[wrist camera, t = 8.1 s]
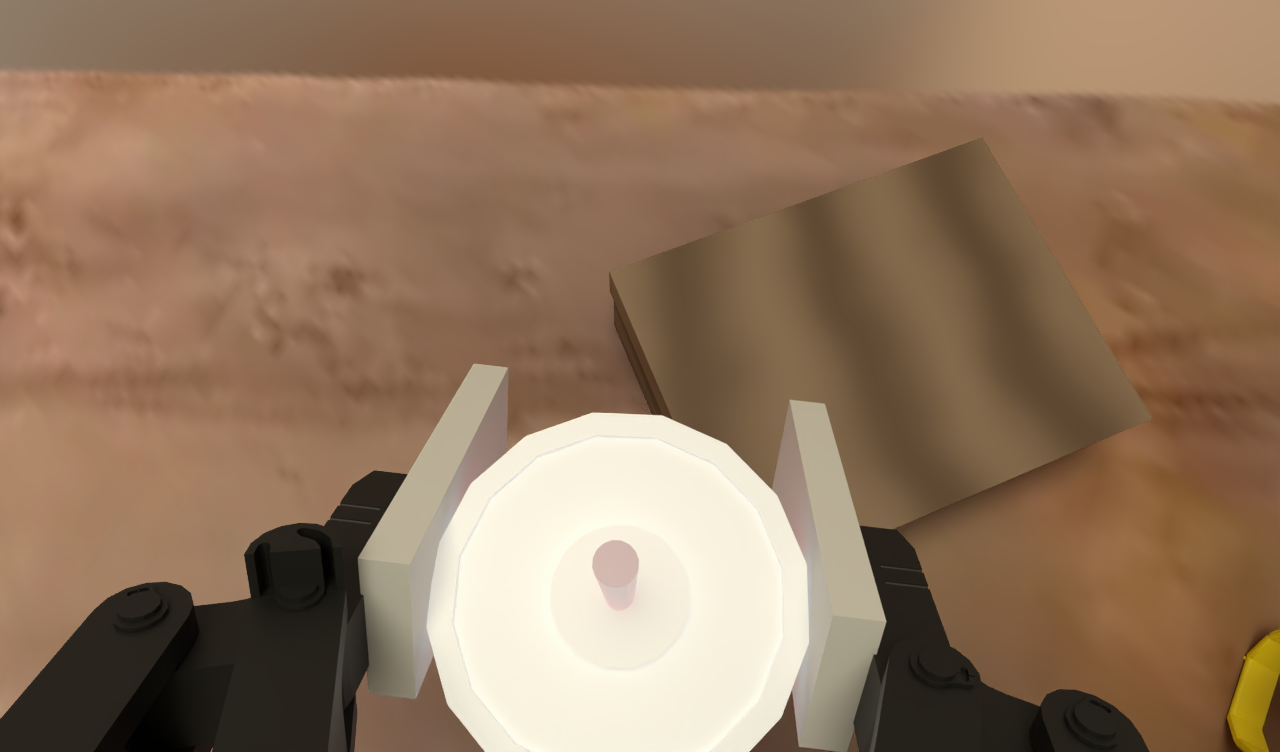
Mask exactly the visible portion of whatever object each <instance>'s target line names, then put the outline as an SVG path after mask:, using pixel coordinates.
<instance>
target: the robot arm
mask: <svg viewBox="0 0 1280 752" xmlns="http://www.w3.org/2000/svg"><path fill="white" fill-rule="evenodd" d="M507 408H508V368H507V367H498V366H489V365H480V364H473V366H472V368H471V369H470V371H469V373H468V374H467V376H466V378H465V379H464V381H463V383H462V384H461V386H460V388H459V389H458V391H457V393H456V394H455V396H454V398H453V399H452V401H451V403H450V404H449V406H448V408H447V409H446V411H445V413H444V414H443V416H442V418H441V420H440V421H439V423H438V425H437V426H436V428H435V430H434V431H433V433H432V435H431V436H430V438H429V440H428V441H427V443H426V445H425V446H424V448H423V450H422V451H421V453H420V455H419V456H418V458H417V460H416V461H415V463H414V465H413V466H412V468H411V470H410V472H409V473H408V474H400V473H391V472H383V471H373V472H371V473H370V474H368V475H367V476H365V477H364V478H362V479H361V480H359V481H358V482H356V483H355V484H353V485H352V486H351V488H350V489H349V491H348V492H347V494H346V495H345V496H344V498H343V499H342V501H341V502H340V506H338V507H337V508H336V509H335V511H334V512H333V514H332V515H331V518H330V520H328V521H327V522H326V524H325V525H324V526H322V525H319V524H309V523H297V524H291V525H286V526H281V527H278V528H276V529H273V530H271V531H268V532H266V533H264V534H262V535H261V536H260V537H259V538H257V539H256V540H255V541H253V542H252V543H251V544H250V546H249V547H248V549H247V551H246V552H245V554H244V557H245V563H246V569H247V575H248V581H249V587H250V594H251V598H249V599H245V600H239V601H234V602H226V603H218V604H209V605H200V606H194V604H193V600H192V596H191V593H190V592H189V591H187V590H186V589H185V588H184V587H182V586H181V585H177V584H172V583H168V582H155V583H145V584H141V585H137V586H134V587H130V588H127V589H124V590H122V591H121V592H119V593H117V594H115V595H113V596H111V597H109V598H107V599H106V600H105V601H104V602H103V603H101V604H100V605H99V606H98V607H97V608H96V609H94V610H93V612H92V613H91V614H90V615H89V616H88V617H87V619H86V620H85V621H84V622H83V623H82V624H81V626H80V627H79V628H78V629H77V630H76V631H75V633H74V634H73V635H72V636H71V637H70V638H69V640H68V641H67V642H66V643H65V644H64V645H63V647H62V648H61V649H60V650H59V651H58V652H57V654H56V655H55V656H54V657H53V658H52V659H51V661H50V662H49V663H48V664H47V665H46V666H45V668H44V669H43V670H42V671H41V672H40V673H39V675H38V676H37V677H36V678H35V679H34V680H33V682H32V683H31V684H30V685H29V686H28V687H27V689H26V690H25V691H24V692H23V693H22V694H21V696H20V697H19V698H18V699H17V700H16V701H15V703H14V704H13V705H12V706H11V707H10V708H9V710H8V711H7V712H6V713H5V714H4V715H3V717H2V718H1V719H0V752H210V751H211V749H212V748H213V750H212V752H354V747H355V735H356V722H357V704H356V694H355V693H356V691H357V689H358V687H359V685H360V683H361V681H362V679H363V676H364V674H365V672H366V670H367V677H368V689H369V694H377V695H385V696H393V697H401V698H409V699H416V698H417V695H418V693H419V690H420V688H421V685H422V683H423V680H424V678H425V675H426V673H427V670H428V668H429V665H430V663H431V660H432V658H433V655H434V654H433V650H432V646H431V643H430V639H429V636H428V632H427V628H426V626H427V617H428V608H429V600H430V591H431V583H432V577H433V572H434V567H435V561H436V556H437V551H438V546H439V542H440V540H441V538H442V536H443V535H444V533H445V531H446V529H447V527H448V525H449V523H450V521H451V520H452V518H453V516H454V514H455V512H456V510H457V508H458V506H459V505H460V503H461V501H462V499H463V497H464V495H465V493H466V491H467V490H468V488H469V486H470V484H471V483H472V482H473V481H474V480H475V479H477V478H478V477H479V476H480V475H481V474H482V473H484V472H485V471H486V470H487V469H488V468H489V467H490V466H492V465H493V464H494V463H495V462H496V461H497V460H499V459H500V458H501V457H502V456H503V455H504V454H506V453H507ZM772 491H773V492H774V493H775V494H776V495H777V496H778V498H779V500H780V503H781V505H782V507H783V510H784V512H785V514H786V517H787V519H788V521H789V524H790V526H791V528H792V531H793V533H794V536H795V538H796V540H797V543H798V545H799V547H800V550H801V552H802V554H803V557H804V559H805V561H806V564H807V584H808V619H809V644H808V647H807V650H806V652H805V655H804V658H803V660H802V663H801V666H800V669H799V671H798V674H797V677H796V679H795V682H794V685H793V688H792V694H793V702H794V710H795V719H796V727H797V735H798V743H799V747H806V748H814V749H822V750H830V751H838V752H847V751H848V748H849V745H850V741H851V738H852V735H853V731H854V728H855V733H856V738H857V743H858V748H859V752H1149V750H1148V748H1147V746H1146V744H1145V742H1144V740H1143V738H1142V736H1141V735H1140V733H1139V732H1138V730H1137V729H1136V728H1135V726H1134V725H1133V723H1132V722H1131V721H1130V720H1129V719H1128V718H1127V717H1126V716H1125V715H1124V714H1122V713H1121V712H1120V711H1119V710H1118V709H1116V708H1115V707H1114V706H1113V705H1111V704H1109V703H1107V702H1105V701H1103V700H1102V699H1100V698H1098V697H1096V696H1094V695H1091V694H1088V693H1084V692H1081V691H1078V690H1056V691H1054V692H1052V693H1049V694H1047V695H1046V697H1045V698H1044V700H1043V702H1042V704H1041V706H1037V705H1034V704H1031V703H1029V702H1026V701H1023V700H1020V699H1018V698H1015V697H1012V696H1010V695H1007V694H1004V693H1002V692H1000V691H997V690H995V689H993V688H991V687H989V686H987V685H986V684H984V683H982V682H981V679H980V675H979V673H978V671H977V670H976V669H975V667H974V666H973V664H972V663H971V662H970V660H969V659H967V658H966V657H965V656H963V655H962V654H961V653H960V652H958V651H957V650H956V649H954V648H952V647H950V644H949V641H948V639H947V636H946V633H945V630H944V628H943V625H942V622H941V620H940V617H939V614H938V611H937V609H936V606H935V603H934V601H933V598H932V595H931V592H930V590H929V589H928V584H927V581H926V579H925V576H924V573H922V568H921V565H920V562H919V560H918V557H917V554H916V552H915V549H914V548H913V547H912V546H911V545H910V543H909V542H908V541H907V540H906V539H905V538H904V537H903V536H902V535H901V534H900V533H899V532H898V531H897V530H894V529H885V528H877V527H868V526H860V525H859V523H858V519H857V516H856V512H855V509H854V505H853V502H852V498H851V495H850V491H849V487H848V484H847V480H846V477H845V473H844V470H843V466H842V463H841V459H840V456H839V452H838V448H837V445H836V441H835V438H834V434H833V431H832V427H831V424H830V420H829V417H828V413H827V410H826V406H825V404H823V403H815V402H806V401H797V400H789V406H788V411H787V416H786V421H785V426H784V431H783V436H782V441H781V446H780V451H779V456H778V461H777V466H776V471H775V476H774V482H773V487H772Z"/></svg>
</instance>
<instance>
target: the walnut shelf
mask: <svg viewBox="0 0 1280 752" xmlns="http://www.w3.org/2000/svg"><path fill="white" fill-rule="evenodd" d="M609 278H610V292H611V295H612V297H613V299H614V325H615V327H616V330H617V332H618V335H619V337H620V339H621V342H622V344H623V346H624V349H625V351H626V353H627V356H628V358H629V361H630V363H631V365H632V368H633V370H634V372H635V375H636V377H637V380H638V382H639V384H640V387H641V389H642V391H643V394H644V396H645V398H646V401H647V403H648V406H649V408H650V410H651V413H652V415H662V416H665V417H667V418H669V419H671V420H674V421H676V422H678V423H680V424H683V425H685V426H687V427H689V428H692V429H694V430H696V431H698V432H701V433H703V434H705V435H707V436H710V437H712V438H714V439H716V440H719V441H721V442H723V443H725V444H727V445H728V446H729V447H730V448H731V449H732V450H733V451H734V452H735V453H736V454H737V455H738V456H739V457H740V458H741V459H742V460H743V461H744V462H745V463H746V464H747V465H748V466H749V467H750V468H751V469H752V470H753V471H754V472H755V473H756V474H757V475H758V476H759V477H760V478H761V479H762V480H763V481H764V482H765V483H766V484H767V485H768V487H769V488H770V489H771V490H772V487H773V482H774V476H775V471H776V466H777V461H778V456H779V451H780V446H781V441H782V436H783V431H784V426H785V421H786V416H787V411H788V406H789V400H797V401H806V402H815V403H823V404H825V406H826V410H827V413H828V417H829V420H830V424H831V427H832V431H833V434H834V438H835V441H836V445H837V448H838V452H839V456H840V459H841V463H842V466H843V470H844V473H845V477H846V480H847V484H848V487H849V491H850V495H851V498H852V502H853V505H854V509H855V512H856V516H857V519H858V523H859V525H860V526H868V527H877V528H885V529H895V528H897V527H899V526H902V525H904V524H906V523H909V522H911V521H913V520H916V519H918V518H920V517H923V516H925V515H927V514H930V513H932V512H934V511H937V510H939V509H941V508H944V507H946V506H948V505H951V504H953V503H955V502H958V501H960V500H962V499H965V498H967V497H970V496H972V495H974V494H977V493H979V492H981V491H984V490H986V489H988V488H991V487H993V486H995V485H998V484H1000V483H1002V482H1005V481H1007V480H1009V479H1012V478H1014V477H1016V476H1019V475H1021V474H1023V473H1026V472H1028V471H1030V470H1033V469H1035V468H1037V467H1040V466H1042V465H1044V464H1047V463H1049V462H1051V461H1054V460H1056V459H1058V458H1061V457H1063V456H1065V455H1068V454H1070V453H1072V452H1075V451H1077V450H1079V449H1082V448H1084V447H1087V446H1089V445H1091V444H1094V443H1096V442H1098V441H1101V440H1103V439H1105V438H1108V437H1110V436H1112V435H1115V434H1117V433H1119V432H1122V431H1124V430H1126V429H1129V428H1131V427H1133V426H1136V425H1138V424H1140V423H1143V422H1145V421H1147V420H1150V419H1152V417H1151V416H1150V414H1149V412H1148V411H1147V409H1146V407H1145V406H1144V404H1143V402H1142V401H1141V399H1140V397H1139V396H1138V394H1137V392H1136V391H1135V389H1134V387H1133V386H1132V384H1131V382H1130V381H1129V379H1128V378H1127V376H1126V374H1125V373H1124V371H1123V369H1122V368H1121V366H1120V364H1119V363H1118V361H1117V359H1116V358H1115V356H1114V354H1113V353H1112V351H1111V349H1110V348H1109V346H1108V344H1107V343H1106V341H1105V339H1104V338H1103V336H1102V334H1101V333H1100V331H1099V330H1098V328H1097V326H1096V325H1095V323H1094V321H1093V320H1092V318H1091V316H1090V315H1089V313H1088V311H1087V310H1086V308H1085V306H1084V305H1083V303H1082V301H1081V300H1080V298H1079V296H1078V295H1077V293H1076V291H1075V290H1074V288H1073V286H1072V285H1071V283H1070V282H1069V280H1068V278H1067V277H1066V275H1065V273H1064V272H1063V270H1062V268H1061V267H1060V265H1059V263H1058V262H1057V260H1056V258H1055V257H1054V255H1053V253H1052V252H1051V250H1050V248H1049V247H1048V245H1047V243H1046V242H1045V240H1044V239H1043V237H1042V235H1041V234H1040V232H1039V230H1038V229H1037V227H1036V225H1035V224H1034V222H1033V220H1032V219H1031V217H1030V215H1029V214H1028V212H1027V210H1026V209H1025V207H1024V205H1023V204H1022V202H1021V200H1020V199H1019V197H1018V195H1017V194H1016V192H1015V191H1014V189H1013V187H1012V186H1011V184H1010V182H1009V181H1008V179H1007V177H1006V176H1005V174H1004V172H1003V171H1002V169H1001V167H1000V166H999V164H998V162H997V161H996V159H995V157H994V156H993V154H992V152H991V151H990V149H989V147H988V146H987V144H986V143H985V141H984V139H983V138H980V139H977V140H974V141H971V142H968V143H966V144H963V145H960V146H957V147H955V148H952V149H949V150H946V151H943V152H941V153H938V154H935V155H932V156H930V157H927V158H924V159H921V160H918V161H916V162H913V163H910V164H907V165H905V166H902V167H899V168H896V169H893V170H891V171H888V172H885V173H882V174H880V175H877V176H874V177H871V178H869V179H866V180H863V181H860V182H857V183H855V184H852V185H849V186H846V187H844V188H841V189H838V190H835V191H832V192H830V193H827V194H824V195H821V196H819V197H816V198H813V199H810V200H807V201H805V202H802V203H799V204H796V205H794V206H791V207H788V208H785V209H782V210H780V211H777V212H774V213H771V214H769V215H766V216H763V217H760V218H757V219H755V220H752V221H749V222H746V223H744V224H741V225H738V226H735V227H732V228H730V229H727V230H724V231H721V232H719V233H716V234H713V235H710V236H707V237H705V238H702V239H699V240H696V241H694V242H691V243H688V244H685V245H682V246H680V247H677V248H674V249H671V250H669V251H666V252H663V253H660V254H657V255H655V256H652V257H649V258H646V259H644V260H641V261H638V262H635V263H632V264H630V265H627V266H624V267H621V268H619V269H616V270H613V271H610V272H609Z"/></svg>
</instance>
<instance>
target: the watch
mask: <svg viewBox="0 0 1280 752" xmlns="http://www.w3.org/2000/svg"><path fill="white" fill-rule="evenodd" d="M1246 656H1247V657H1246ZM1246 656H1244V657H1243V660H1245V662H1244V665H1243V669H1242V672H1241V675H1240V678H1239V681H1238V684H1237V687H1236V690H1235V693H1234V697H1233V700H1232V703H1231V706H1230V709H1229V712H1228V715H1227V720H1228V723H1229V727H1230V730H1231V733H1232V737H1233V740H1234V742H1235V743H1236V746H1237V747H1239V748H1240V749H1241V750H1242V751H1243V752H1269V750H1268V747H1267V744H1266V741H1265V738H1264V735H1263V732H1262V729H1263V726H1264V722H1265V719H1266V716H1267V713H1268V709H1269V706H1270V703H1271V700H1272V696H1273V693H1274V690H1275V687H1276V683H1277V680H1278V677H1279V674H1280V629H1278V630H1275V631H1273V632H1271V633H1269V635H1266V636H1265V637H1264V638H1263V639H1262V640H1261V641H1260V642H1258V643H1257V644H1256V645H1255V646H1254V647H1253V648H1252V649H1251V650H1250V651H1249V652H1248V653H1247V654H1246Z"/></svg>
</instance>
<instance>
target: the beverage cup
mask: <svg viewBox="0 0 1280 752" xmlns="http://www.w3.org/2000/svg"><path fill="white" fill-rule="evenodd" d="M426 628H427V632H428V636H429V639H430V643H431V646H432V650H433V654H434V657H435V661H436V665H437V668H438V672H439V676H440V679H441V683H442V686H443V690H444V694H445V697H446V701H447V705H448V706H449V707H450V708H451V710H452V711H453V712H454V713H455V715H456V716H457V717H458V718H459V720H460V721H461V722H462V723H463V725H464V726H465V727H466V728H467V730H468V731H469V732H470V733H471V735H472V736H473V737H474V739H475V740H476V741H477V742H478V744H479V745H480V746H481V747H482V749H483V750H484V751H485V752H749V751H750V750H751V749H752V748H753V747H754V746H755V745H756V744H757V743H758V742H759V741H760V740H761V739H762V738H763V737H764V735H765V734H766V733H767V732H768V731H769V730H770V729H771V728H772V727H773V726H774V725H775V724H776V723H777V722H778V721H779V719H780V718H781V717H782V715H783V712H784V709H785V706H786V704H787V701H788V698H789V696H790V693H791V690H792V688H793V685H794V682H795V679H796V677H797V674H798V671H799V669H800V666H801V663H802V660H803V658H804V655H805V652H806V650H807V647H808V644H809V619H808V584H807V564H806V561H805V559H804V557H803V554H802V552H801V550H800V547H799V545H798V543H797V540H796V538H795V536H794V533H793V531H792V528H791V526H790V524H789V521H788V519H787V517H786V514H785V512H784V510H783V507H782V505H781V503H780V500H779V498H778V496H777V495H776V494H775V493H774V492H773V491H772V490H771V489H770V488H769V487H768V485H767V484H766V483H765V482H764V481H763V480H762V479H761V478H760V477H759V476H758V475H757V474H756V473H755V472H754V471H753V470H752V469H751V468H750V467H749V466H748V465H747V464H746V463H745V462H744V461H743V460H742V459H741V458H740V457H739V456H738V455H737V454H736V453H735V452H734V451H733V450H732V449H731V448H730V447H729V446H728V445H727V444H725V443H723V442H721V441H719V440H716V439H714V438H712V437H710V436H707V435H705V434H703V433H701V432H698V431H696V430H694V429H692V428H689V427H687V426H685V425H683V424H680V423H678V422H676V421H674V420H671V419H669V418H667V417H665V416H662V415H638V414H613V413H590V414H587V415H585V416H582V417H579V418H576V419H573V420H570V421H567V422H565V423H562V424H559V425H556V426H553V427H550V428H547V429H545V430H542V431H539V432H536V433H533V434H530V435H528V436H525V437H524V438H523V439H522V440H521V441H520V442H518V443H517V444H516V445H515V446H514V447H513V448H511V449H510V450H509V451H508V452H507V453H506V454H504V455H503V456H502V457H501V458H500V459H499V460H497V461H496V462H495V463H494V464H493V465H492V466H490V467H489V468H488V469H487V470H486V471H485V472H484V473H482V474H481V475H480V476H479V477H478V478H477V479H475V480H474V481H473V482H472V483H471V484H470V486H469V488H468V490H467V491H466V493H465V495H464V497H463V499H462V501H461V503H460V505H459V506H458V508H457V510H456V512H455V514H454V516H453V518H452V520H451V521H450V523H449V525H448V527H447V529H446V531H445V533H444V535H443V536H442V538H441V540H440V542H439V546H438V551H437V556H436V561H435V567H434V572H433V577H432V583H431V591H430V600H429V608H428V617H427V626H426Z"/></svg>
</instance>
